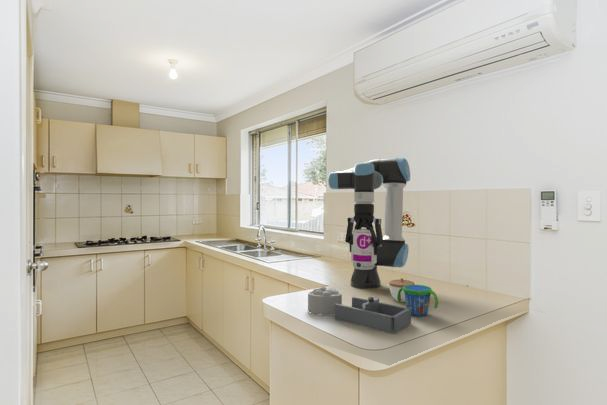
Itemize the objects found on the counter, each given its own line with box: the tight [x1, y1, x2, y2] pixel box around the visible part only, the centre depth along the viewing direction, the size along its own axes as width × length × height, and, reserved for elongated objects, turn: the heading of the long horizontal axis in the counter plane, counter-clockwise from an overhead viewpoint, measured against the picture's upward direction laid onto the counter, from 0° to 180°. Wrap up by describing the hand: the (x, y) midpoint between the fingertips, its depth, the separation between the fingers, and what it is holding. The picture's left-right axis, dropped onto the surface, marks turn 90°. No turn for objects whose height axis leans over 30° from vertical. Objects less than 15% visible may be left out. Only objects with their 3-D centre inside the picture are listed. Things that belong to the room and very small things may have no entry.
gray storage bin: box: [334, 296, 412, 335], centre depth 134 cm, size 24×13×6 cm, turn 50°
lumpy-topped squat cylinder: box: [307, 286, 343, 316], centre depth 147 cm, size 10×13×9 cm
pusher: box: [362, 296, 380, 313], centre depth 134 cm, size 2×10×7 cm, turn 140°
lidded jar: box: [389, 278, 416, 303], centre depth 162 cm, size 11×11×9 cm
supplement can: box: [352, 228, 375, 270], centre depth 142 cm, size 8×8×15 cm
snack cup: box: [397, 284, 439, 317], centre depth 143 cm, size 16×10×10 cm
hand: (363, 262), depth 142 cm, fingers closed on supplement can, 8 cm apart
